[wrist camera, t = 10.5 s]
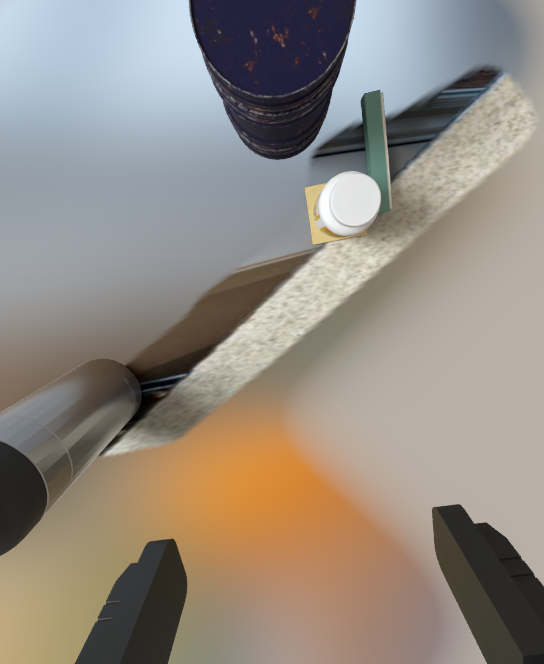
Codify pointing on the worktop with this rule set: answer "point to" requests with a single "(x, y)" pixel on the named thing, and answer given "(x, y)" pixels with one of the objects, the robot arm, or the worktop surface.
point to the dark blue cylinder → (274, 65)
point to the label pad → (316, 233)
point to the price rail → (377, 145)
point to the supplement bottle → (347, 204)
